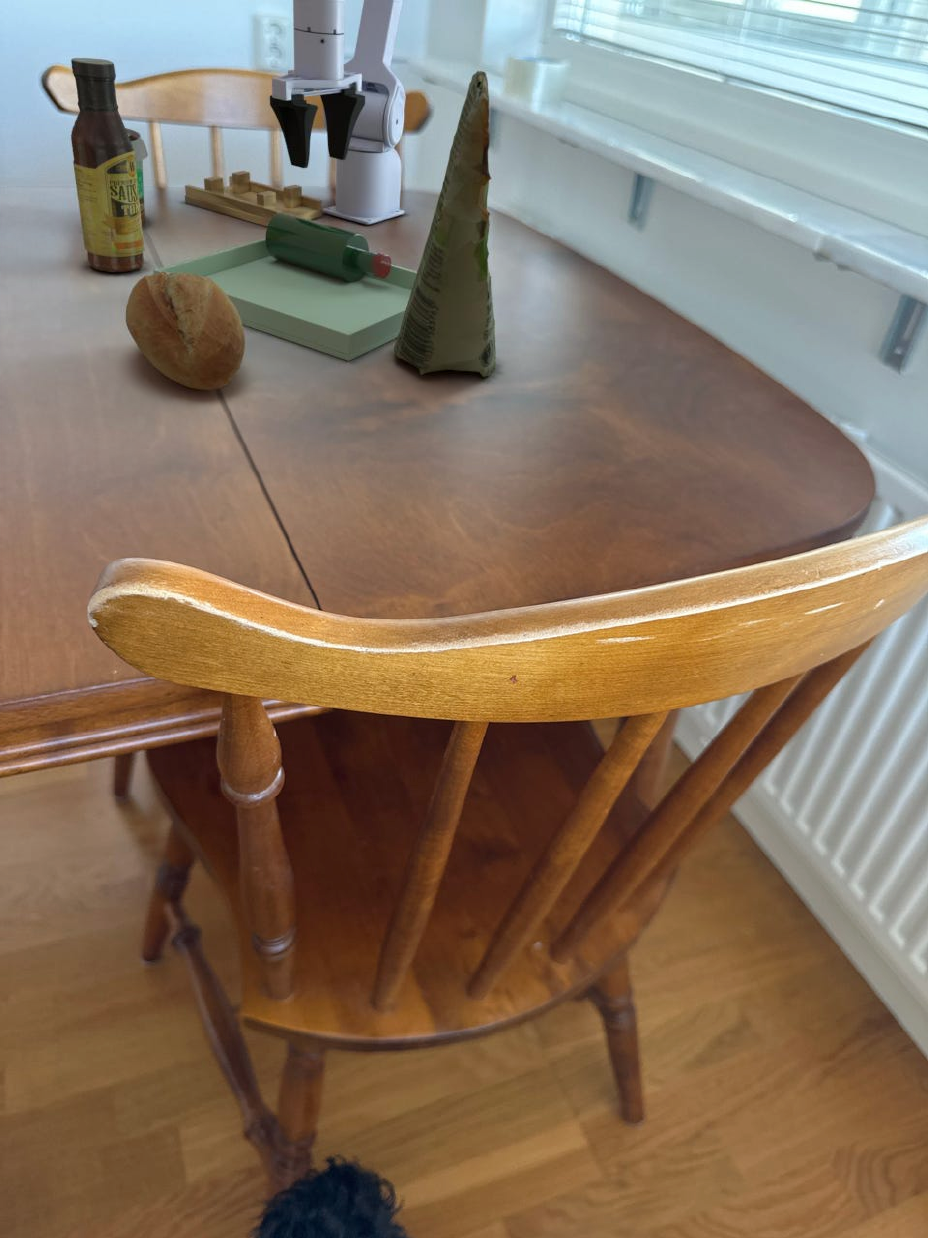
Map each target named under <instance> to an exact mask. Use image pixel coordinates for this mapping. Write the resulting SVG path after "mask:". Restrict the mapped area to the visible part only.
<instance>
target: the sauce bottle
mask: <svg viewBox="0 0 928 1238" xmlns="http://www.w3.org/2000/svg"><path fill="white" fill-rule="evenodd" d="M70 63H71V70H72V74H73V77H74V79H75V88H76V94H77V106H78V109H79V113H78V115H77V116H76V119H75V121H74V125H73V127H72V130H71V133H70V141H71V142H70V143H71V148H72V155H73V161H72V165H73V170H74V171H73V172H74V179H75V185H76V193H77V202H78V209H79V215H80V223H81V230H82V237H83V245H84V249H85V251H86V253H87V255H86V256H87V257H86V258H87V261H88V264H89V266H90V267H92V268H93V269H95V270H98V271H101V272H103V271H104V272H106V273H107V272H109V273H124V272H133V271H136V270H139V269H141V268H142V267H143V266H144V261H145V260H144V259H145V258H144V253H145V242H144V241H145V240H144V232H143V227H142V221H141V211H140V201H139V191H138V181H137V171H136V160H135V151H134V149H133V146H132V144H131V141H130V139H129V136H128V134H127V131H126V129H125V128H126V127H125V125H124V122H123V120H122V117H121V114H120V113H119V106H118V103H117V94H116V93H117V92H116V85H115V81H116V77H117V74H116V68H115V67H116V66H115V64H114V62H113V61H111V60H109V59H103V58H91V57H90V58H89V57H74V58H71V60H70Z"/></svg>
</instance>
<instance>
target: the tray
mask: <svg viewBox="0 0 928 1238" xmlns="http://www.w3.org/2000/svg"><path fill="white" fill-rule="evenodd" d="M163 271H164V272H166V274H167V275H169V274H170V273H174V274H175V273H188V274H194V275H198V276H201V277H207V278H210V279H211V280H212V281H213V282H215V283H216V284H217V285H218V286H219V287H220V288H221V289H222V290H223V291H224V292H225V293H226V295H227V296H228V297H229V299H230V300H231V302H232V303H233V305H234V306H235V308H236V309H237V311H238V314H239V316H240V319H241V321H242V325H243V326H246V327H249V328H252V329H255V330H258V331H261V332H263V333H265V334H269V335H272V336H275V337H278V338H281V339H284V340H286V341H290V342H292V343H294V344H298V345H301V346H304V347H307V348H310V349H312V350H315V351H318V352H322V353H324V354H327V355H330V356H333V357H336V358H338V359H341V360H344V361H347V362H349V361H352V360H354V359H355V358H358V357H360V356H362V355H364V354H366V353H368V352H370V351H372V350H374V349H376V348H379V347H381V346H383V345H385V344H387V343H389V342H391V341H393V340H396V339H397V338H398V334H399V332H400V329H401V325H402V321H403V317H404V313H405V310H406V307H407V304H408V301H409V297H410V294H411V291H412V288H413V284H414V281H415V278H416V275H417V271H418V270H417V271H416V270H414V269H410V268H406V267H404V266H400V265H396V264H392V263H391V270H390V273H389V275H388V276H387V277H386V278H385V279H380V278H377V277H375V276H373V274H370V273H367V272H364V273H363V275H362V276H361V278H360V279H358V280H357V281H355V282H349V281H346V280H342V279H339V278H336V277H333V276H329V275H326V274H323V273H320V272H317V271H313V270H310V269H307V268H304V267H300V266H297V265H294V264H291V263H287V262H284V261H281V260H278V259H275V258H273V257H272V256H271V255H270V254H269V253H268V250H267V247H266V241H265V237H264V238H263V237H262V238H260V239H256V240H253V241H249V242H245V243H242V244H238V245H236V246H232V247H227V248H225V249H221V250H217V251H214V252H210V253H207V254H204V255H201V256H197V257H194V258H189V259H186V260H182V261H180V262H176V263H172V264H169V265H166V266H162V267H158V268H155V269H153V271H152V272H153V275H154V274H157V273H160V272H163Z"/></svg>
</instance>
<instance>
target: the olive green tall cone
mask: <svg viewBox="0 0 928 1238" xmlns="http://www.w3.org/2000/svg"><path fill="white" fill-rule="evenodd" d="M456 128H457V129H456V131H455V134H454V136H453V139H452V144H451V147H450V150H449V156H448V161H447V166H446V169H445V174H444V178H443V181H442V186H441V189H440V192H439V196H438V200H437V203H436V205H435V210H434V214H433V219H432V222H431V225H430V230H429V233H428V237H427V240H426V242H425V245H424V249H423V254H422V256H421V260H420V263H419V265H418V268H417V275H416V278H415V281H414V284H413V288H412V291H411V294H410V297H409V301H408V304H407V307H406V310H405V313H404V317H403V321H402V325H401V329H400V332H399V334H398V337H397V338H396V342H395V344H394V347H393V352H394V355H395V356H396V357H397V358H399V359H402V360H403V361H405V362H407V363H408V364H410V365H412V366H414V367H415V368H417V369H418V370H419V373H420V376H421V375H425V374H427V373H431V372H439V371H447V370H449V371H450V370H451V371H463V372H464V371H465V372H477V373H479V374H480V375H481V376H482V377H483V378H486V377H488V376H489V377H490V376H491V375H492V372H494V370H495V369H496V365H497V364H496V363H497V361H496V359H497V351H496V330H495V329H496V320H495V314H494V305H493V304H494V303H493V302H494V301H493V291H492V276H491V273H490V270H489V262H488V261H489V256H490V252H489V248H488V247H489V246H488V243H489V234H490V225H491V224H490V223H491V222H490V215H491V213H490V211H489V210H488V195H489V190H490V189H489V188H490V180H492V176H491V175H490V167H489V166H490V165H489V149H490V139H491V134H490V96H489V82H488V77H487V73H486V72H485V71H484V70H483V71H482V70H477V71H476V72H475V73H474V74H472V76H471V80H470V82H469V83H468V89H467V92H466V97H465V100H464V102H463V106H462V108H461V113H460V116H459V119H458V124H457V127H456Z"/></svg>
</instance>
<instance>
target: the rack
mask: <svg viewBox="0 0 928 1238" xmlns="http://www.w3.org/2000/svg"><path fill="white" fill-rule="evenodd" d="M228 179H229V180H228V181H229V185H226V186H224V178H223V177H221V176H217V175H215V176H211V177H210V176H209V177H206V178H203V185H204V186H203V187H204V188H202V187H199V186H196V185H192V184H185V185H184V190H185V192H184V193H185V194H184V203H185V204H188V205H192V206H196V207H199V208H202V209H204V210H205V209H206V210H209V211H212V212H215V213H219V214H223V215H226V216H229V217H232V218H237V219H239V220H243V221H247V222H250V223H254V224H257V225H260V226H263V227H267V226H268V224H269V222H270V220H271V219H272V217H273V216H274V215H276V214H277V213H280V212H284V213H287V214H291V215H294V216H298V217H301V218H305V219H308V220H314V219H318V218H322V217H323V208H322V205H323V203H322V202H323V201H322V199H319V198H315V197H312V196H308V195H305V194H303V193H302V192H303V187H302V185H298V184H291V185H288V186H284V187H283V188H279V187H275V186H272V185H268V184H264V183H261V182H257V181H253V180H251V173H250V171H246V170H241V171H236V172H232V173H231V175H230V176H229V177H228Z"/></svg>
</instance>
